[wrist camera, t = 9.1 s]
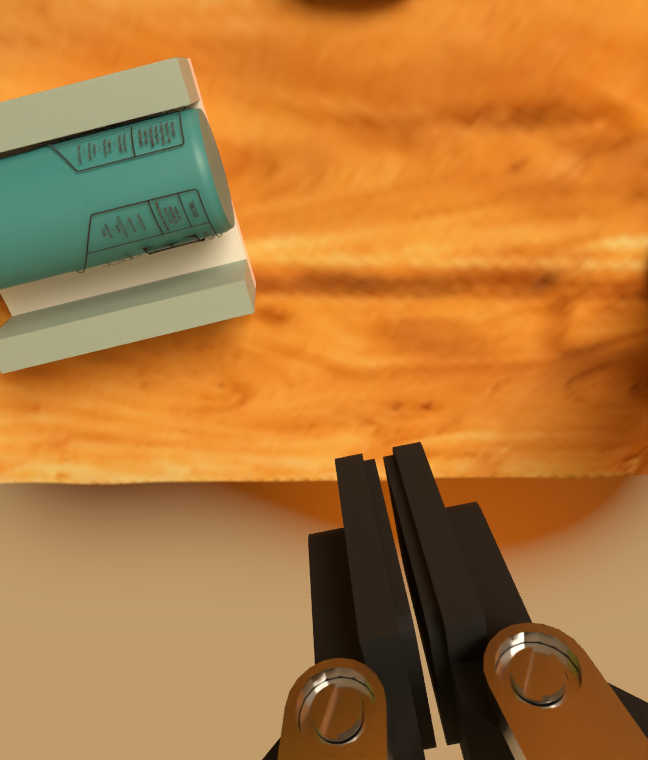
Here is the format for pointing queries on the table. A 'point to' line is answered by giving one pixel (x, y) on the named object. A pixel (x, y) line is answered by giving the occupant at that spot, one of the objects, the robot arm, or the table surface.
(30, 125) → the cradle
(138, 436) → the table surface
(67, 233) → the beverage bottle
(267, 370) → the table surface
